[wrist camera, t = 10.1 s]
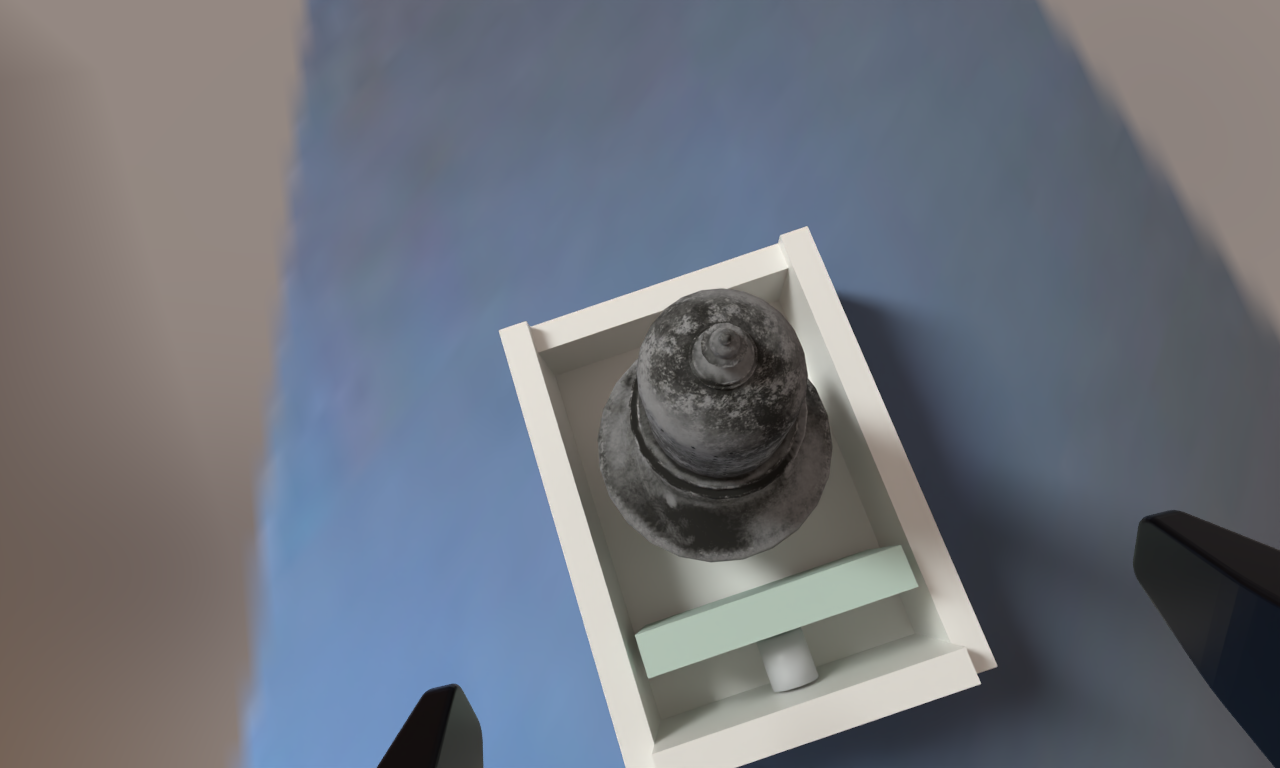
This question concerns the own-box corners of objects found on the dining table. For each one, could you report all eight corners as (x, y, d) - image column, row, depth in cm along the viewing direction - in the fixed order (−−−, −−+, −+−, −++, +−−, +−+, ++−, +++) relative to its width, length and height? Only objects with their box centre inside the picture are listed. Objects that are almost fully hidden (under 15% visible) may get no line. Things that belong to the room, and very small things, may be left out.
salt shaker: (748, 335, 23) (800, 86, 11) (849, 504, 21) (1031, 420, 10) (580, 423, 22) (453, 261, 11) (670, 601, 21) (634, 634, 9)
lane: (942, 649, 21) (1015, 672, 16) (644, 751, 21) (628, 804, 16) (790, 281, 24) (813, 208, 19) (531, 369, 24) (488, 318, 19)
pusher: (881, 584, 20) (918, 586, 17) (656, 660, 20) (647, 678, 17) (867, 549, 21) (901, 544, 17) (646, 625, 21) (634, 635, 17)
